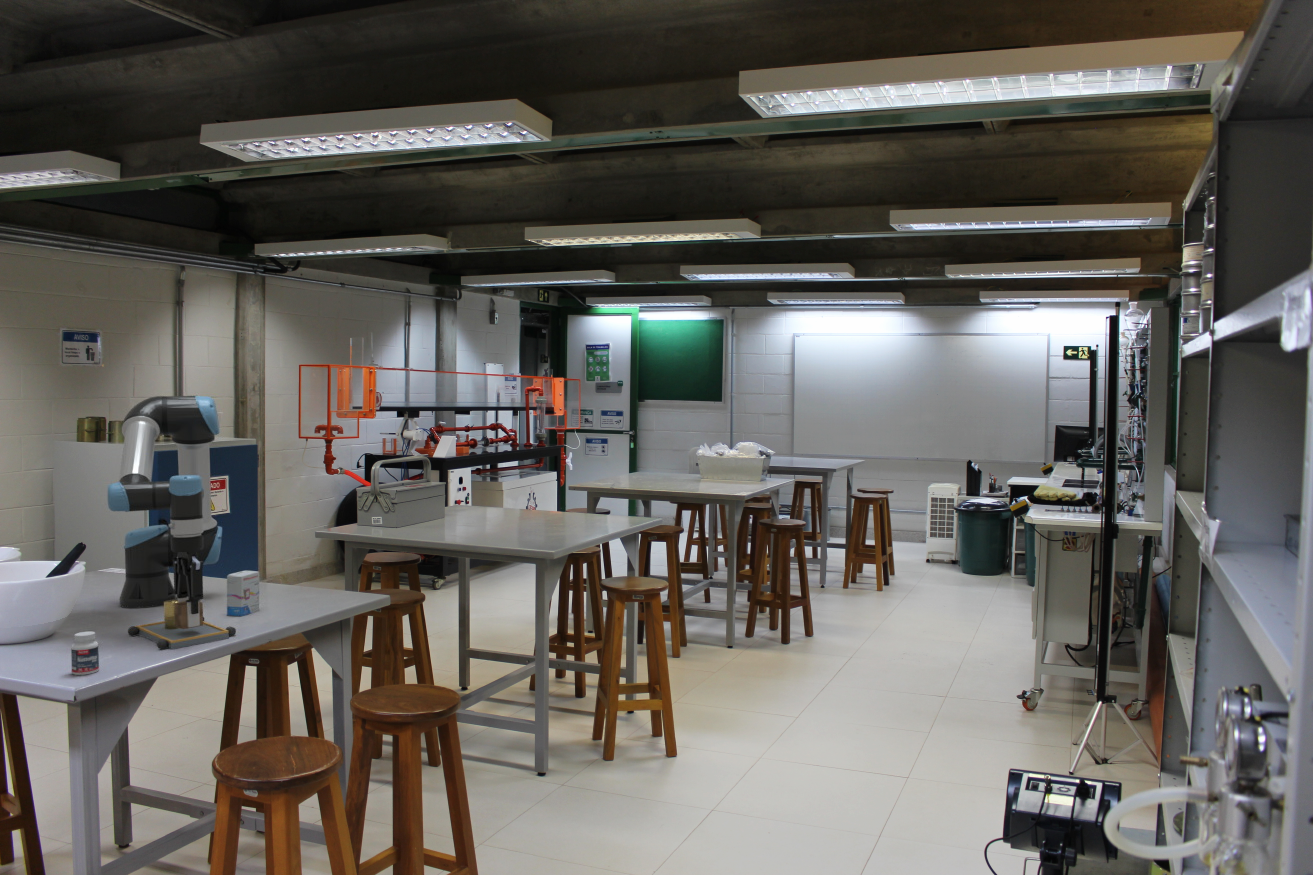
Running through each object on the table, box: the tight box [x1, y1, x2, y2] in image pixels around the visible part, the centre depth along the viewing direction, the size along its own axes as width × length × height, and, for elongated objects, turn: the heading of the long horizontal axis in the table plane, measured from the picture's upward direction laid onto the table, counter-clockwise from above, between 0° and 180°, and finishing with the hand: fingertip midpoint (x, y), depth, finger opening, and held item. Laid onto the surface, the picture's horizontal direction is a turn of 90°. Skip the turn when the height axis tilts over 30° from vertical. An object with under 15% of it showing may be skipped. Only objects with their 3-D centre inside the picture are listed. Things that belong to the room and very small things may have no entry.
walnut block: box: [175, 601, 204, 629], centre depth 236 cm, size 5×5×6 cm
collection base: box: [127, 616, 237, 650], centre depth 239 cm, size 24×19×2 cm
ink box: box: [226, 570, 260, 617], centre depth 265 cm, size 8×5×12 cm, turn 168°
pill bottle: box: [70, 631, 100, 676], centre depth 207 cm, size 5×5×9 cm
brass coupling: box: [163, 598, 179, 629], centre depth 242 cm, size 4×4×7 cm
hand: (189, 624), depth 236 cm, fingers closed on walnut block, 5 cm apart
